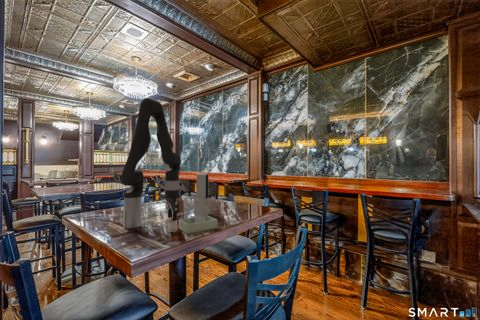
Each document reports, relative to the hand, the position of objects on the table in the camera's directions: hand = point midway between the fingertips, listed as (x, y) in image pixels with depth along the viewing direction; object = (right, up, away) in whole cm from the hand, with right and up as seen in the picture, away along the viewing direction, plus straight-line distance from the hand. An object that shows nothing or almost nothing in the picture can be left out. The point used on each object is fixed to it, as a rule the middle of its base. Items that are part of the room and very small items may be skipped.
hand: (172, 218), depth 118 cm
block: (+13, -6, +6) cm, 15 cm away
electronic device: (+9, -8, +39) cm, 41 cm away
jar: (0, -7, 0) cm, 7 cm away
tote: (+13, -7, +6) cm, 16 cm away
